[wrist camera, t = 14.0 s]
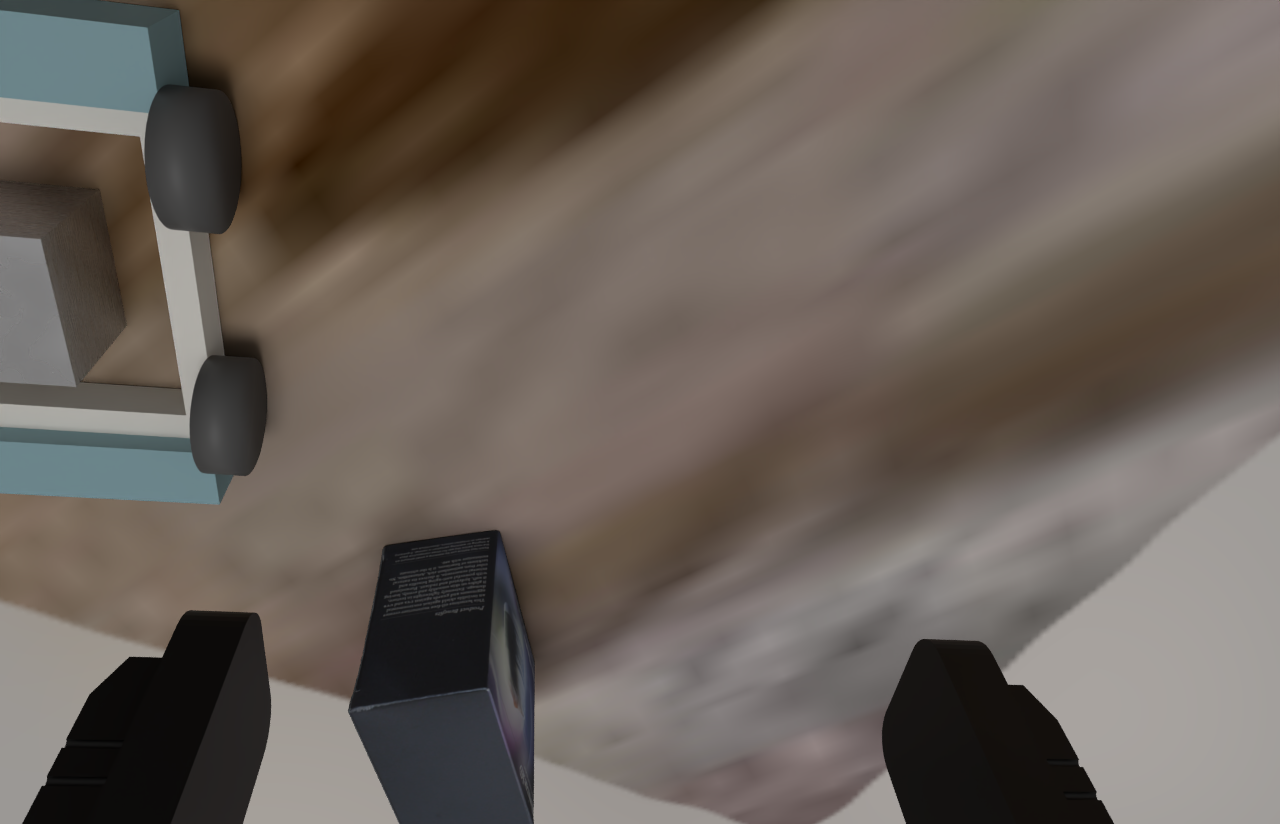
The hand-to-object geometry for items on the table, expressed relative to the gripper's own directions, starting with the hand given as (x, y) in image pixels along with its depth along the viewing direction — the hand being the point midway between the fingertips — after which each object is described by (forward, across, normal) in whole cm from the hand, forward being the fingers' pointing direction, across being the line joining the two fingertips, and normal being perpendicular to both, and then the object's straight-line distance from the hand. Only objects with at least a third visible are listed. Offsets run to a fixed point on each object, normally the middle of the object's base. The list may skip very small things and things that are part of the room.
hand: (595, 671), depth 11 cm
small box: (+28, +3, +28) cm, 40 cm away
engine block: (+28, +20, +9) cm, 36 cm away
